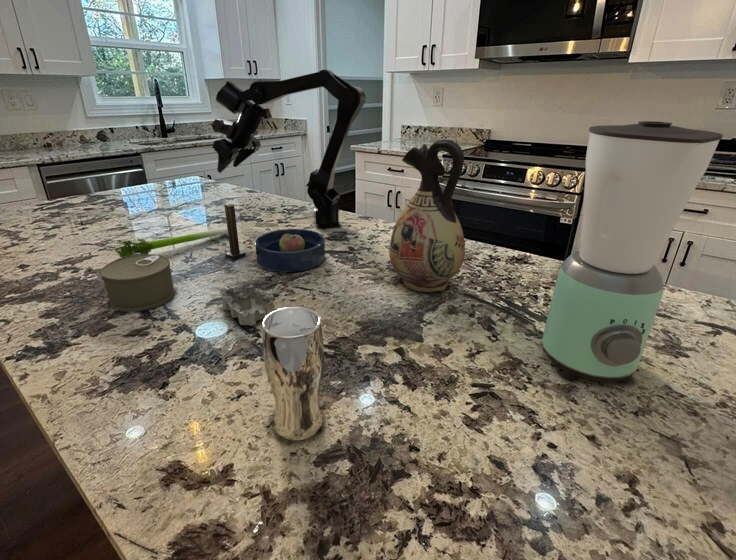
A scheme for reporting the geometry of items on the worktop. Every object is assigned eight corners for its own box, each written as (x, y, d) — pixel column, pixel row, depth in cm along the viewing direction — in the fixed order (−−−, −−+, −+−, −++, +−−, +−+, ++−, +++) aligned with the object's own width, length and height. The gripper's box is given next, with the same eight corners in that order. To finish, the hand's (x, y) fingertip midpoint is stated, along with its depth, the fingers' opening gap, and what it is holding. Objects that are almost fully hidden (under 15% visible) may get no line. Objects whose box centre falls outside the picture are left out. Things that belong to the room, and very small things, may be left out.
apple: (270, 260, 99) (268, 237, 96) (292, 250, 105) (291, 227, 103) (289, 266, 96) (288, 242, 93) (311, 255, 102) (310, 232, 100)
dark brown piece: (237, 253, 104) (231, 202, 99) (245, 256, 102) (239, 204, 97) (225, 257, 102) (218, 205, 96) (233, 260, 100) (227, 207, 94)
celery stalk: (237, 243, 115) (123, 268, 94) (223, 240, 119) (111, 264, 98) (234, 221, 113) (117, 241, 92) (220, 219, 118) (106, 238, 96)
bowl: (318, 244, 110) (317, 226, 108) (331, 269, 95) (330, 249, 93) (255, 250, 106) (253, 231, 104) (259, 276, 92) (257, 255, 90)
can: (94, 306, 80) (85, 273, 77) (143, 280, 90) (136, 250, 87) (143, 317, 76) (135, 283, 73) (188, 289, 86) (182, 258, 83)
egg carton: (279, 318, 76) (278, 298, 74) (240, 330, 72) (237, 310, 70) (256, 294, 84) (254, 276, 82) (219, 305, 80) (216, 286, 78)
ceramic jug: (372, 284, 88) (376, 137, 76) (414, 263, 99) (424, 130, 86) (441, 312, 78) (459, 146, 65) (480, 285, 88) (502, 138, 76)
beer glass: (273, 404, 56) (263, 306, 49) (325, 401, 56) (322, 304, 50) (267, 445, 49) (256, 339, 43) (326, 442, 50) (323, 336, 44)
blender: (662, 401, 56) (773, 130, 42) (561, 396, 57) (635, 129, 43) (597, 326, 74) (659, 116, 59) (520, 323, 74) (562, 115, 60)
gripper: (240, 105, 126) (220, 148, 133) (206, 108, 109) (186, 158, 117) (270, 127, 126) (249, 169, 134) (241, 134, 110) (219, 181, 117)
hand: (226, 169), depth 125 cm, fingers open, 9 cm apart
